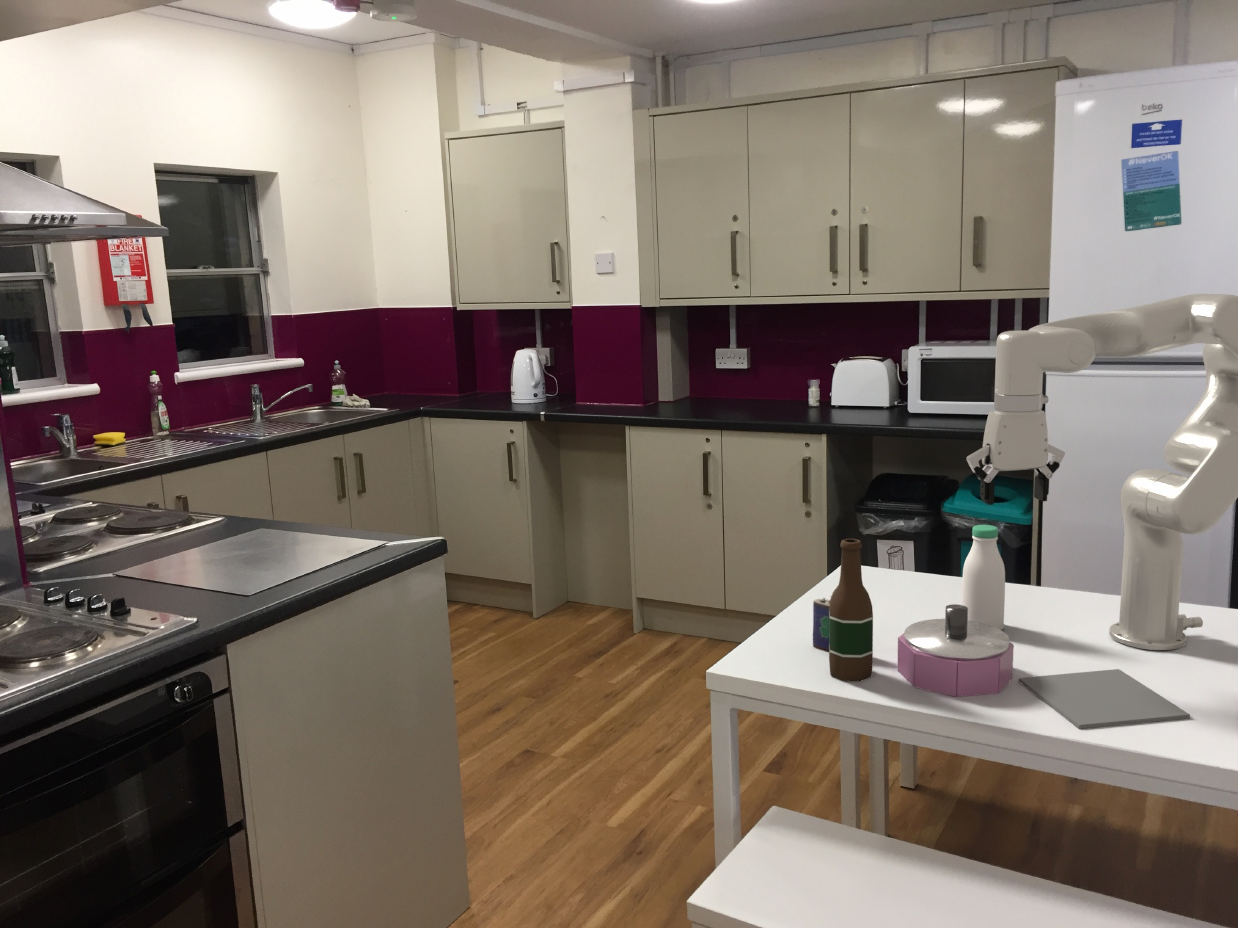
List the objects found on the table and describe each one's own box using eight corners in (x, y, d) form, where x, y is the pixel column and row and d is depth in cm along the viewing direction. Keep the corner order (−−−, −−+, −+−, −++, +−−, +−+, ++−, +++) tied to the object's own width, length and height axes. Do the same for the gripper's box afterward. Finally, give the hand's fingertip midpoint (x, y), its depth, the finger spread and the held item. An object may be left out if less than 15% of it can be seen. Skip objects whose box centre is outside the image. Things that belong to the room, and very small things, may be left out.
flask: (861, 653, 185) (862, 597, 182) (854, 658, 182) (854, 601, 180) (816, 642, 190) (816, 588, 188) (808, 647, 188) (808, 592, 186)
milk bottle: (1006, 635, 190) (1010, 532, 186) (963, 633, 192) (966, 532, 188) (999, 621, 198) (1003, 522, 194) (958, 619, 199) (961, 521, 195)
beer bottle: (865, 685, 170) (866, 548, 166) (821, 677, 174) (820, 543, 170) (879, 669, 177) (880, 537, 172) (836, 661, 181) (837, 532, 176)
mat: (1118, 672, 172) (1118, 668, 172) (1189, 717, 154) (1190, 714, 154) (1018, 681, 170) (1018, 677, 170) (1078, 728, 152) (1079, 724, 152)
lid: (979, 620, 182) (980, 588, 180) (1028, 655, 165) (1030, 620, 164) (888, 628, 180) (889, 595, 179) (929, 664, 163) (930, 629, 162)
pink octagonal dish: (978, 651, 183) (979, 620, 182) (1027, 690, 166) (1029, 655, 165) (886, 659, 181) (886, 627, 180) (926, 699, 164) (927, 664, 163)
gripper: (1053, 398, 177) (1049, 493, 180) (959, 403, 175) (956, 500, 178) (1077, 403, 169) (1073, 503, 173) (979, 409, 168) (976, 509, 171)
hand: (1014, 501), depth 175 cm, fingers open, 9 cm apart
